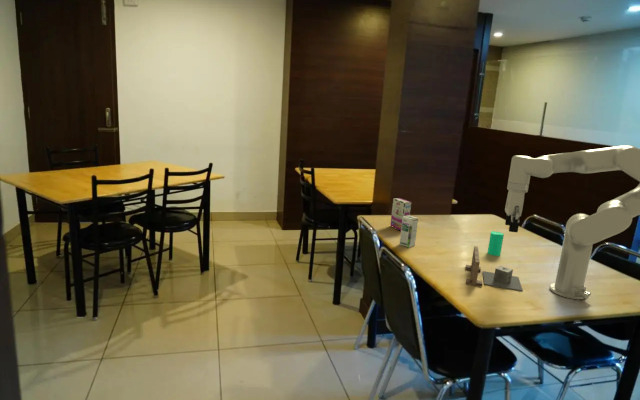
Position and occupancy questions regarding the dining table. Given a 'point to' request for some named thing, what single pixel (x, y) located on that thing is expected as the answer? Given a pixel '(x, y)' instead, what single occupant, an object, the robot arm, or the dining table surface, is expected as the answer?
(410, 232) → the syrup box
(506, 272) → the dice cube
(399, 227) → the candy bar box
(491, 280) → the grey mat
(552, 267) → the dining table surface
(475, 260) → the walnut screen
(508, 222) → the robot arm
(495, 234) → the candle
